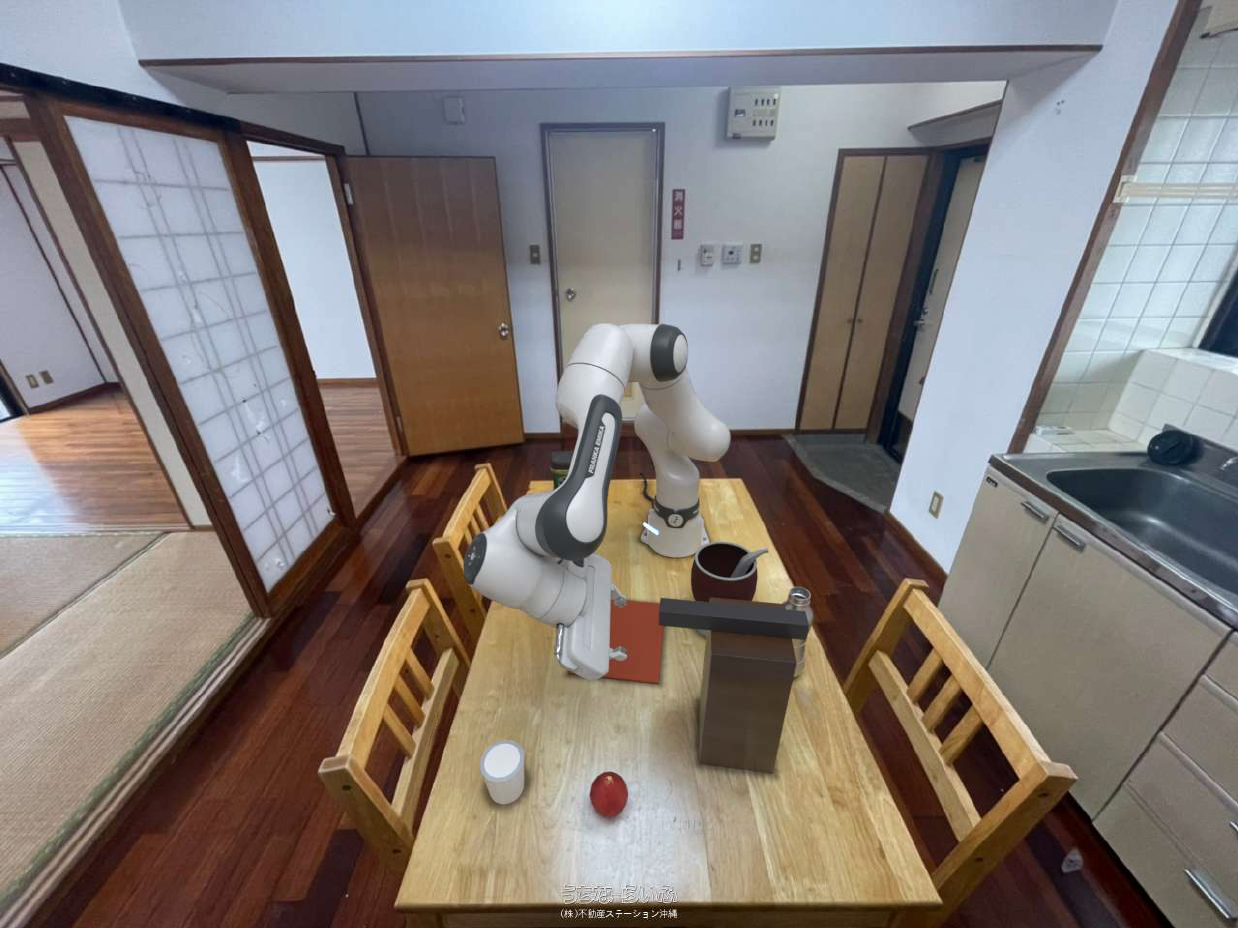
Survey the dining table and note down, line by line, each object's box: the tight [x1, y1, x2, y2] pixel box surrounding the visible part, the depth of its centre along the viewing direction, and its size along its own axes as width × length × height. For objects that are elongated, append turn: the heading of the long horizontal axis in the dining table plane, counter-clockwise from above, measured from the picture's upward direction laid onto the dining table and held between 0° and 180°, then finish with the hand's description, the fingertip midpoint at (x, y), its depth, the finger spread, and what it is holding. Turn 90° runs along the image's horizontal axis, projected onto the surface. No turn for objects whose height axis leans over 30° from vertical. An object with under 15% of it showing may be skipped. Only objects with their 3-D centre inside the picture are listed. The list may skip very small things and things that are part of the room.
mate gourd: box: [690, 540, 769, 638], centre depth 111 cm, size 16×14×20 cm
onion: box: [589, 771, 629, 818], centre depth 79 cm, size 6×6×8 cm
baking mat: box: [568, 598, 665, 685], centre depth 112 cm, size 22×18×1 cm
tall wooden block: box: [699, 597, 797, 774], centre depth 85 cm, size 12×12×26 cm
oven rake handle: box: [659, 597, 809, 641], centre depth 79 cm, size 3×22×3 cm, turn 82°
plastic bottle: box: [781, 586, 815, 678], centre depth 99 cm, size 6×7×20 cm
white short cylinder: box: [479, 739, 525, 805], centre depth 82 cm, size 7×7×7 cm
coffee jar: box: [549, 450, 574, 491], centre depth 154 cm, size 10×8×19 cm
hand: (624, 628), depth 87 cm, fingers open, 8 cm apart
